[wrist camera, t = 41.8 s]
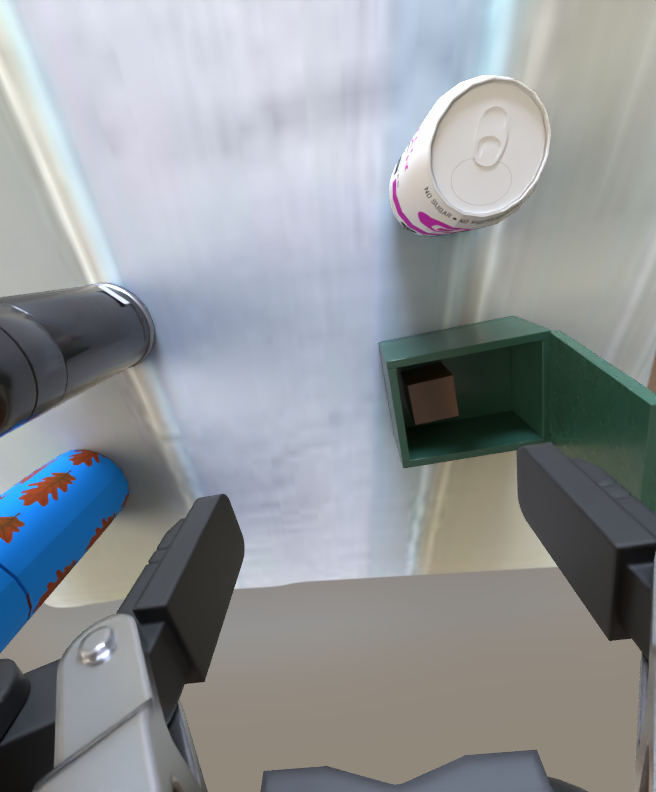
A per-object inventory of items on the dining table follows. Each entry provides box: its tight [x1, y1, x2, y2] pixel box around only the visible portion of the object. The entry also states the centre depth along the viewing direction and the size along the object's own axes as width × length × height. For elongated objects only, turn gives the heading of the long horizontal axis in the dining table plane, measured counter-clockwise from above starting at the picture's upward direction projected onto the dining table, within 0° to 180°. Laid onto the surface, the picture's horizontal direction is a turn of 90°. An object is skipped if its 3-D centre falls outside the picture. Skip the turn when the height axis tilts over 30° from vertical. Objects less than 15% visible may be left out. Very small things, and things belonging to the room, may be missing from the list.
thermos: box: [0, 450, 129, 653], centre depth 38 cm, size 11×11×25 cm
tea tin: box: [378, 316, 552, 468], centre depth 39 cm, size 15×12×8 cm
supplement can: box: [389, 75, 551, 237], centre depth 29 cm, size 8×8×15 cm
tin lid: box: [549, 330, 656, 513], centre depth 26 cm, size 15×12×6 cm
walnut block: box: [401, 362, 459, 425], centre depth 40 cm, size 5×5×5 cm
